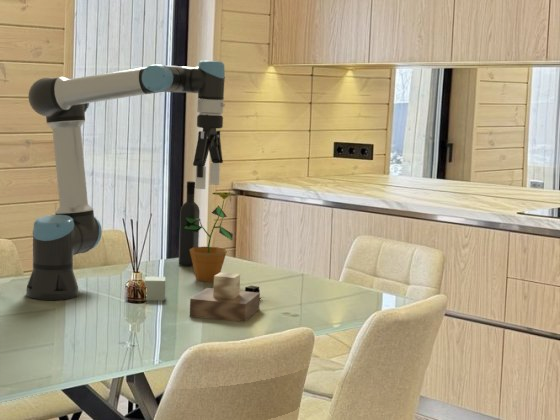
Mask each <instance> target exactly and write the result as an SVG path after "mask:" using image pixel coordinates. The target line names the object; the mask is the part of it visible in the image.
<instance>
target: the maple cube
mask: <svg viewBox="0 0 560 420" xmlns="http://www.w3.org/2000/svg"><path fill="white" fill-rule="evenodd" d="M240 287H241V274H240V273H233V272H232V273H230V272H222V271H221V272H220V273H218V274H217V275H215V276H214V281H213V288H214V289H213V297H220V298H230V299H234V298H235V297H237V296H238V295H239V292H240V291H241V290H240Z"/></svg>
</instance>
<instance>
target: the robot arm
mask: <svg viewBox="0 0 560 420" xmlns="http://www.w3.org/2000/svg"><path fill="white" fill-rule="evenodd" d="M225 73H226V72H225V64H224V62H222V61H217V60H200V61H199V64H198V66H195V67H193V66H178V65H168V64H167V65H166V64H161V63H157V64H156V63H155V64H150V65H148V66H144V67H138V68H131V69H127V70H121V71H115V72H114V71H113V72H106V73H102V74H94V75H88V76H82V77H75V78H70V77H64V76H60V77H41V78H39V79H37V80H36V81H34V82H33V83H32V84H31V86H30V89H29V90H28V97H27V98H28V103H29V105H30V107H31V108H32V110H33V111H34V112H35V113H36V114H38V115H40V116H43V117H46V118H45V120H46V124H47V126H49V127H50V128H51V130H52V141H53V149H54V150H53V151H54V160H55V170H56V171H55V172H56V180H57V181H56V183H57V192H58V203H59V207H58V208H57V209H56V210H55V213H54V214H51V215H43V216H41V217H39V218H37V219H36V220H34V223H33V228H32V229H33V230H32V271H31V274H30V276H29V280H28V282H27V286H26V289H25V291H26V295H25V296H27V298H31V299H33V300H34V299H35V300H43V301H61V300H62V301H63V300H69V299H74V298H77V297H78V296H79V286H78V282H77V279H76V275H75V273H74V256H75V255H79V254H85V253H87V252H89V251H90V250H91V251H92V250H93V249H95V247H96V246H97V245H98V244H99V242H100V241H101V237H102V233H103V231H102V225H101V222H100V221H99V220H98V219H97V217H96V216H95V214H94V208H93V207H92V205H90V204H89V202H88V201H89V199H88V191H87V182H86V171H85V161H84V159H85V158H84V149H83V138H82V126H83V124H85V122H86V115H85V113H86V112H87V110H88V109H89V106H90V104H91V103H95V102H96V103H97V102H102V101H103V102H104V101H109V100H116V99H122V98H123V99H124V98H129V97H130V98H131V97H135V96H142V95H143V96H144V95H151V94H157V93H184V94H185V93H187V94H189V93H190V94H192V93H193V94H197V108H196V109H197V113H198V114H197V117H196V126H197V128H202V131H201V130H200V131H198V133H197V136H198V137H197V142H196V143H197V144H196V149H195V154H194V158H193V162H192V163H193V164H192V166H193V167H196V169H195V189H197V190H205V189H206V181H207V180H206V177H207V176H206V175H207V166H206V163H207V158H208V155H209V156H210V160H211V162H210V163H209V164H210V165H209V166H210V169H209V185H211V186H212V185H213V186H219V185H220V171H221V170H220V168H221V167H220V166H221V164H223V163H224V159H223V153H222V143H221V130H219V129H222V128H223V127H224V126H223V125H224V117H223V115H222V114H223V113H224V108H225V107H226V103H224V101H225V100H224V99H225V98H224V96H225V95H224V93H225V79H226V75H225ZM217 129H218V130H217Z"/></svg>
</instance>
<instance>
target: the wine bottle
mask: <svg viewBox="0 0 560 420" xmlns="http://www.w3.org/2000/svg"><path fill="white" fill-rule="evenodd" d="M195 188H196V181H189V180H188V181H186V199H185V202H184V203H183V204H182V206H181V207H180V211H179V212H180V213H179V236H178V237H179V241H178V242H179V244H178V246H179V247H178V265H180V266H185V267H193V263H192V259H191V255H190V250H189V249H191V248H193V247H199V242H200V241H199V238H200V230H199V231H198V232H195V231H192V230H188V229H185V228H183V227H184V226H185V225H186V224H187V222H186V218H191V219H199V218H200V213H201V212H200V207H199V205H198V204H197V203H196V201H195ZM193 224H195V225H198V226H200V221H199V220H197V221H196V222H195V223H193Z"/></svg>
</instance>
